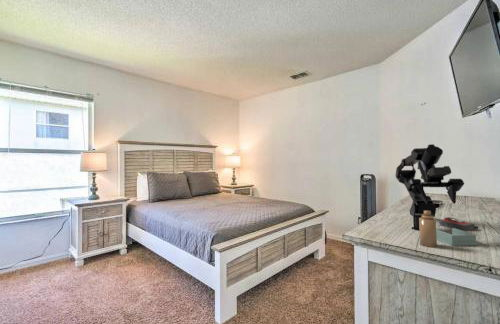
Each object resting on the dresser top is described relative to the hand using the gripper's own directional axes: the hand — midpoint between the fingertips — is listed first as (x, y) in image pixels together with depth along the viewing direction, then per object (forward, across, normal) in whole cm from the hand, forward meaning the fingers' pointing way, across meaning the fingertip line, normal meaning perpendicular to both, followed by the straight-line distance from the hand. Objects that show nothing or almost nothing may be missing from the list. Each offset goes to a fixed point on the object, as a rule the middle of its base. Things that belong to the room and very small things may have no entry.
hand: (440, 202), depth 96 cm
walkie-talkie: (-5, +16, +32) cm, 36 cm away
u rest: (+11, +5, +11) cm, 16 cm away
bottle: (+15, -7, +6) cm, 18 cm away
